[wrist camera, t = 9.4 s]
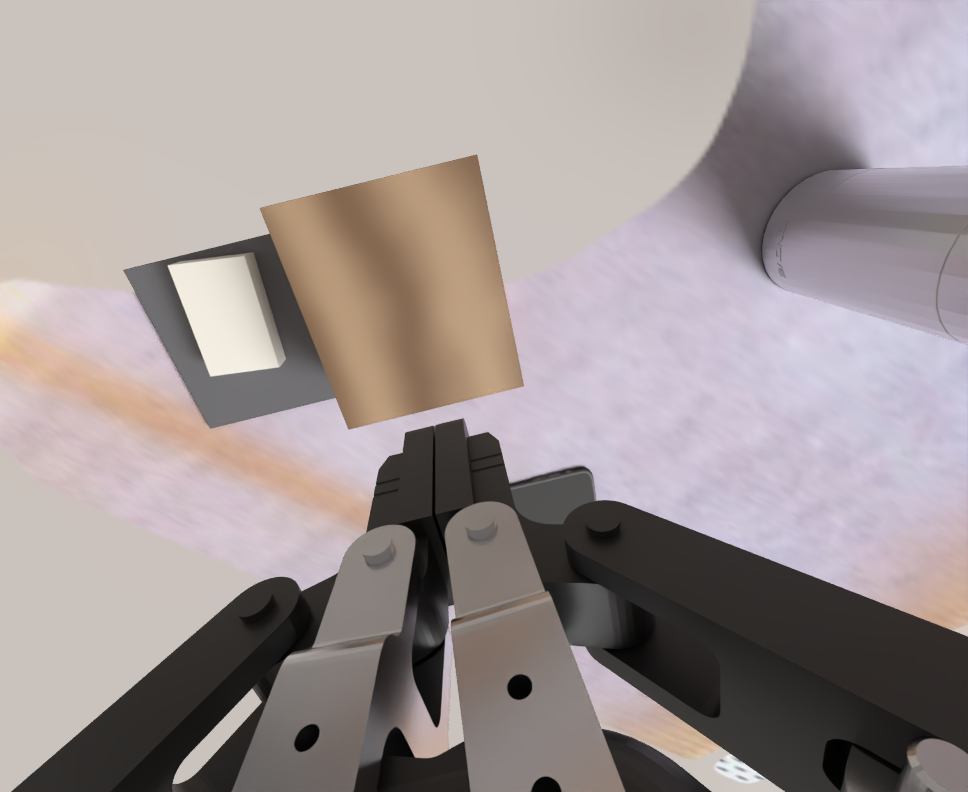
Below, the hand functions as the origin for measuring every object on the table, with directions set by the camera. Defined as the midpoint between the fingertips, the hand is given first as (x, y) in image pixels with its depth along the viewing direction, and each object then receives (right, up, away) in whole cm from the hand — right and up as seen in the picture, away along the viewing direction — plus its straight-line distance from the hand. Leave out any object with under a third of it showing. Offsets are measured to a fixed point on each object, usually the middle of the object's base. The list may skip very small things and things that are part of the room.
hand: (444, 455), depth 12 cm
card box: (-17, +7, +21) cm, 28 cm away
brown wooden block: (-5, +10, +23) cm, 26 cm away
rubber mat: (-16, +6, +24) cm, 29 cm away
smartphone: (+4, -10, +34) cm, 36 cm away
